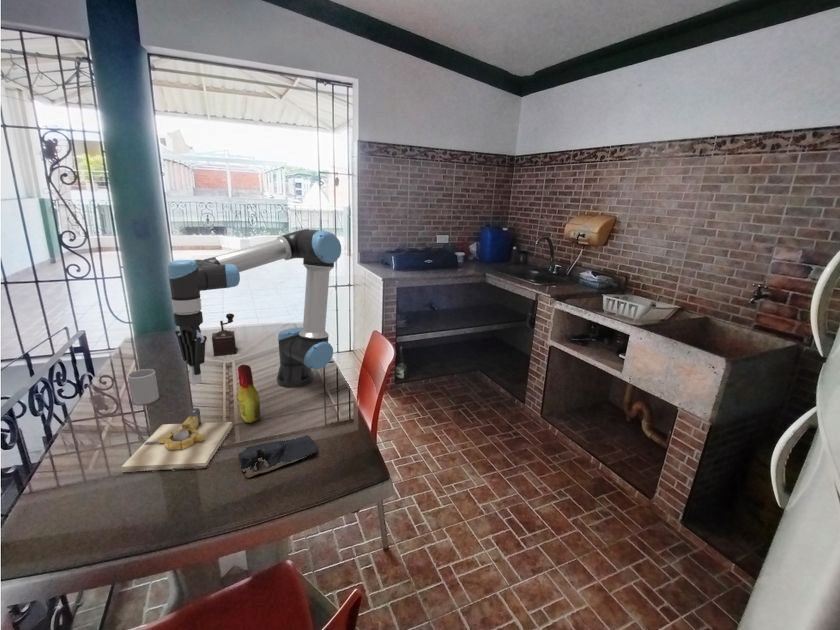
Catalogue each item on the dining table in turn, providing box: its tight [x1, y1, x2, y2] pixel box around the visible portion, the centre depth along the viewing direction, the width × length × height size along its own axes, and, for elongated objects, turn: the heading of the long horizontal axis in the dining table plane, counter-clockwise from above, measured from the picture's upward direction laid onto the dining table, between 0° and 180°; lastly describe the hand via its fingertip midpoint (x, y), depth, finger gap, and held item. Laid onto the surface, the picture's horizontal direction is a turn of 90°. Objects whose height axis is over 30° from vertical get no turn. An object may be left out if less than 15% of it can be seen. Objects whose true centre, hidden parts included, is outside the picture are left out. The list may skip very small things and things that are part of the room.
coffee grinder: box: [211, 312, 238, 357], centre depth 199 cm, size 16×11×18 cm
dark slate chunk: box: [237, 434, 318, 472], centre depth 117 cm, size 15×22×5 cm
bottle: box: [237, 364, 261, 424], centre depth 136 cm, size 12×6×20 cm, turn 34°
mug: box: [127, 368, 160, 406], centre depth 149 cm, size 12×8×11 cm
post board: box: [121, 421, 234, 473], centre depth 119 cm, size 22×22×5 cm
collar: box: [158, 407, 204, 450], centre depth 122 cm, size 12×16×5 cm
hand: (196, 383), depth 124 cm, fingers closed
